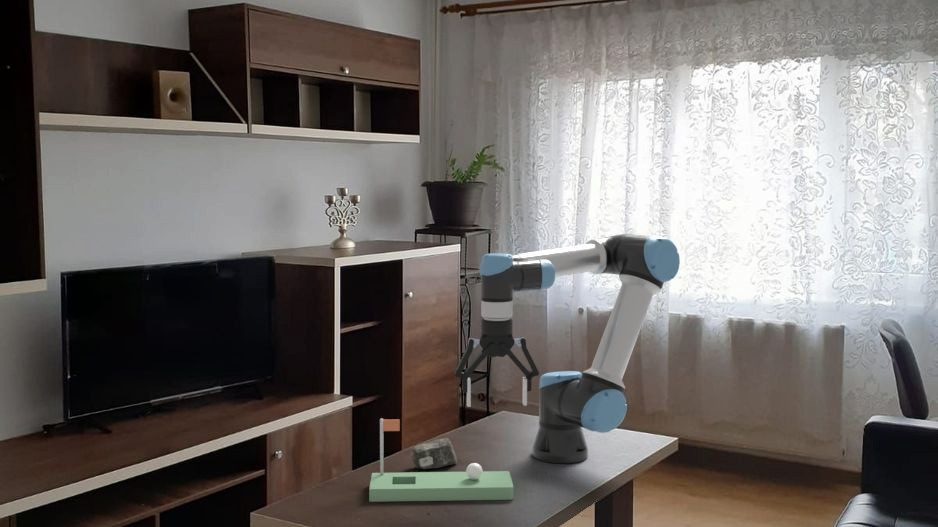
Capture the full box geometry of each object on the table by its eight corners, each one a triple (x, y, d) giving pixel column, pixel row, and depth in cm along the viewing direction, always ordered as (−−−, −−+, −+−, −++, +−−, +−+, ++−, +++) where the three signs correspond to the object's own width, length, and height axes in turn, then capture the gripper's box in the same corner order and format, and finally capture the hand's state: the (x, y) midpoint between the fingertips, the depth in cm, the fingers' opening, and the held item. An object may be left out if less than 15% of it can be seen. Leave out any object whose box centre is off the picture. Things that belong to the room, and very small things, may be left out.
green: (509, 482, 232) (509, 416, 230) (513, 499, 220) (514, 429, 218) (372, 484, 230) (371, 417, 229) (369, 501, 218) (368, 430, 217)
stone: (434, 488, 239) (416, 456, 237) (420, 486, 245) (402, 454, 243) (471, 456, 247) (454, 425, 245) (456, 454, 253) (439, 424, 250)
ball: (482, 476, 227) (482, 460, 227) (483, 482, 223) (483, 465, 223) (465, 476, 227) (465, 460, 227) (466, 482, 223) (466, 466, 223)
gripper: (546, 315, 228) (545, 400, 230) (444, 316, 226) (444, 401, 228) (550, 319, 220) (550, 407, 222) (445, 321, 218) (445, 409, 220)
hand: (496, 405), depth 225 cm, fingers open, 13 cm apart
